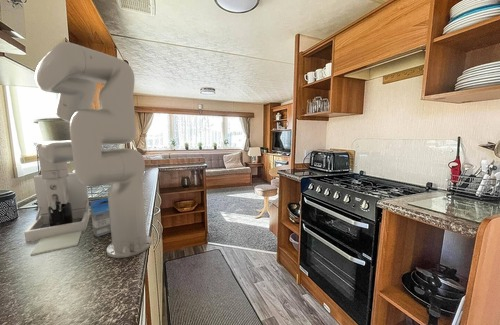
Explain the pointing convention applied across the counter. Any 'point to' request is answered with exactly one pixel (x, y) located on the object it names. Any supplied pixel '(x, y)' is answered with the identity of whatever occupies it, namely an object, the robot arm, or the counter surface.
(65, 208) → the supplement bottle
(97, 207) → the label tape box
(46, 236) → the white open box
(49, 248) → the mat
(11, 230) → the counter surface
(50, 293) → the counter surface
